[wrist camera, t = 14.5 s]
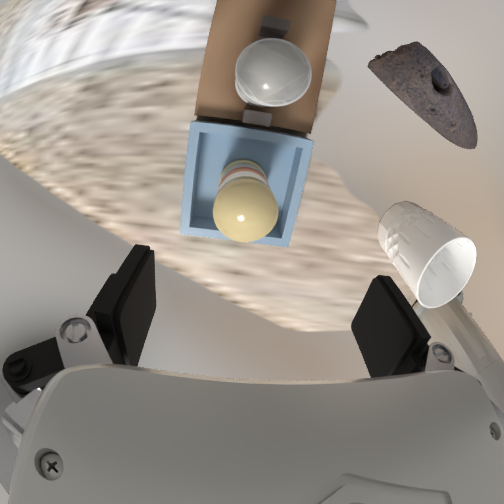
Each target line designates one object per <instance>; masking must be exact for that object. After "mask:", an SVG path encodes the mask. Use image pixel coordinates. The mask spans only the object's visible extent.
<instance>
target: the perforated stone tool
mask: <svg viewBox="0 0 504 504" xmlns="http://www.w3.org/2000/svg"><path fill="white" fill-rule="evenodd" d="M368 68H369V69H370V70H371V71H372V72H373V73H374V74H375V75H376V76H377V77H378V78H379V79H380V80H381V81H382V82H383V83H384V84H385V85H386V86H387V87H388V88H389V89H390V90H391V91H392V92H393V93H394V94H395V95H396V96H397V97H398V98H399V99H400V100H402V101H403V102H404V103H405V104H406V105H407V106H408V107H409V108H410V109H412V110H413V111H414V112H415V113H416V114H417V115H418V116H420V117H421V118H422V119H423V120H424V121H426V122H427V123H428V124H429V125H430V126H431V127H432V128H434V129H435V130H436V131H437V132H438V133H440V134H441V135H442V136H443V137H445V138H446V139H447V140H449V141H450V142H452V143H454V144H455V145H457V146H459V147H462V148H466V149H475V147H476V145H477V129H476V125H475V123H474V119H473V116H472V113H471V111H470V109H469V107H468V105H467V103H466V101H465V99H464V97H463V95H462V93H461V92H460V90H459V88H458V86H457V85H456V83H455V82H454V80H453V78H452V77H451V75H450V74H449V72H448V71H447V70H446V68H445V67H444V66H443V65H442V64H441V63H440V62H439V61H438V60H437V59H436V58H435V56H434V55H433V54H431V52H430V51H429V50H428V49H427V48H426V47H424V46H422V45H421V44H420V43H419V42H413V43H410V44H407V45H401V46H400V47H398V48H397V49H396V50H395V51H387V52H385V53H383V54H382V55H381V56H380V55H377V56H375V59H373V60H371V61H370V62H369V64H368Z"/></svg>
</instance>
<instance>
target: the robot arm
mask: <svg viewBox="0 0 504 504" xmlns="http://www.w3.org/2000/svg"><path fill="white" fill-rule="evenodd" d="M154 262H155V261H154V250H150V247H149V246H145V245H138V244H135V245H134V247H133V249H132V250H131V251H130V253H129V255H128V256H127V257H126V259H125V260H124V262H123V264H122V265H121V267H120V268H119V270H118V272H117V273H116V274H114V273H113V274H111V275H110V276H109V278H108V279H107V281H106V282H105V284H104V286H103V287H102V289H101V290H100V292H99V294H98V295H97V297H96V299H95V300H94V302H93V304H92V305H91V307H90V309H89V310H88V312H87V314H86V315H82V314H75V315H70V316H67V317H65V318H64V319H62V320H61V321H60V322H59V324H58V325H57V327H56V330H55V336H56V337H54V338H51V339H49V340H46V341H43V342H41V343H38V344H36V345H33V346H30V347H28V348H25V349H23V350H20V351H17V352H15V353H13V354H11V355H10V356H9V357H8V358H7V359H6V361H5V362H4V365H3V373H1V374H0V483H1V484H2V486H3V487H4V488H5V490H6V491H7V493H8V494H9V501H8V504H504V361H503V360H502V358H501V357H500V355H499V354H498V352H497V351H496V349H495V348H494V346H493V345H492V343H491V342H490V340H489V339H488V338H487V336H486V335H485V334H484V332H483V331H482V329H481V328H480V327H479V325H478V324H477V323H476V321H475V320H474V319H473V317H472V313H469V312H468V311H467V310H466V309H465V307H464V306H463V305H462V301H463V292H462V290H461V291H460V292H459V293H458V294H457V295H456V296H455V297H454V298H453V299H452V300H450V301H449V302H447V303H446V304H444V305H442V306H439V307H435V308H426V307H424V306H422V305H421V304H420V303H419V301H417V302H416V303H415V305H414V306H413V307H411V305H410V304H409V302H408V301H407V299H406V298H405V296H404V295H403V294H402V292H401V291H400V289H399V288H398V287H397V285H396V284H395V282H394V281H393V280H392V278H391V277H390V276H383V275H378V276H377V277H376V278H374V279H373V280H372V282H371V284H370V286H369V289H368V291H367V293H366V295H365V297H364V299H363V301H362V303H361V305H360V307H359V309H358V311H357V313H356V315H355V317H354V319H353V321H352V324H351V329H352V332H353V334H354V336H355V339H356V341H357V344H358V346H359V349H360V351H361V353H362V356H363V358H364V361H365V364H366V366H367V368H368V371H369V374H370V376H371V378H364V379H351V380H330V381H329V380H328V381H270V380H249V379H248V380H247V379H234V378H222V377H212V376H203V375H194V374H186V373H178V372H170V371H164V370H158V369H151V368H144V367H137V366H138V362H139V359H140V356H141V352H142V349H143V346H144V343H145V340H146V337H147V334H148V331H149V328H150V325H151V322H152V319H153V316H154V313H155V309H156V291H155V263H154Z"/></svg>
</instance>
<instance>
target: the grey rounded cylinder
mask: <svg viewBox="0 0 504 504" xmlns="http://www.w3.org/2000/svg"><path fill="white" fill-rule="evenodd" d="M311 77H312V71H311V66H310V62H309V60H308V58H307V57H306V55H305V54H304V53H303V51H302V50H301V49H300V48H298V47H297V46H296V45H294V44H292V43H291V42H288V41H286V40H282V39H277V38H267V39H261V40H258V41H255V42H253V43H251V44H250V45H248V46H247V47H246V48H245V49H244V50H243V51H242V52H241V54H240V55H239V57H238V59H237V62H236V67H235V78H236V79H235V87H236V91H237V93H238V95H239V97H240V98H241V99H242V100H243V101H244V102H246V103H247V104H249V105H251V106H255V107H275V106H284V105H288V104H291V103H293V102H295V101H296V100H298V99H299V98H301V97H302V96H303V95H304V93H305V92H306V91H307V89H308V87H309V85H310V82H311Z"/></svg>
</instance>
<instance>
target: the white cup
mask: <svg viewBox="0 0 504 504" xmlns="http://www.w3.org/2000/svg"><path fill="white" fill-rule="evenodd" d="M377 235H378V239H379V243H380V246H381V247H382V248H383V249H384V251H385V252H386V253H387V255H388V256H389V258H390V260H391V262H392V263H393V264H394V266H395V267H396V269H397V270H398V272H399V273H400V275H401V276H402V278H403V279H404V281H405V282H406V284H407V285H408V286H409V288H410V289H411V291H412V292H413V294H414V295H415V297H416V298H417V300H418V301H419V303H420V304H421V305H422V306H424V307H426V308H435V307H439V306H442V305H444V304H446V303H447V302H449V301H450V300H452V299H453V298H454V297H455V296H456V295H457V294H458V293H459V292H460V291H461V290H462V289H463V288H464V286H465V285H466V284H467V282H468V281H469V279H470V277H471V275H472V273H473V270H474V267H475V264H476V258H477V251H476V246H475V244H474V242H473V241H472V240H471V239H470V238H468V237H467V236H466V235H464V234H463V233H462V232H460V231H459V230H457V229H456V228H454V227H453V226H451V225H450V224H449V223H447V222H446V221H444V220H443V219H441V218H439V217H438V216H436V215H434V214H432V213H431V212H429V211H427V210H425V209H423V208H421V207H420V206H418V205H417V204H414V203H411V202H408V201H404V202H400V203H396V204H395V205H393V206H392V207H391V208H389V209H388V210H387V211H386V212H385V214H384V216H383V217H382V219H381V220H380V222H379V227H378V233H377Z"/></svg>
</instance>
